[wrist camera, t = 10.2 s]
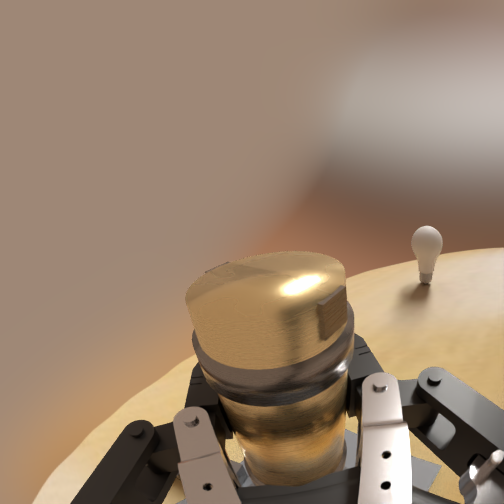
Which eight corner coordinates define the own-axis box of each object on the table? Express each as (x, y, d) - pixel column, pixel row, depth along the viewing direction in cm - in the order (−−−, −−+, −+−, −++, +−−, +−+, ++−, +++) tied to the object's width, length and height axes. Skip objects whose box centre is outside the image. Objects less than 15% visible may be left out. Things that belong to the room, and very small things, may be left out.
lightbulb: (429, 274, 48) (430, 220, 45) (445, 286, 42) (449, 228, 39) (405, 280, 48) (405, 225, 45) (420, 293, 42) (423, 233, 39)
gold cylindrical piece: (361, 461, 11) (381, 258, 8) (300, 524, 8) (260, 356, 5) (295, 427, 15) (265, 244, 11) (235, 476, 12) (152, 293, 8)
